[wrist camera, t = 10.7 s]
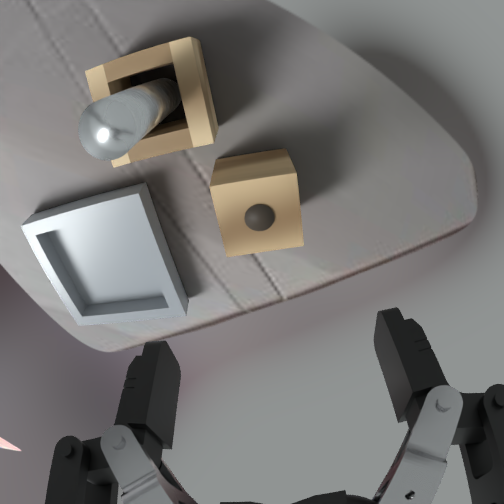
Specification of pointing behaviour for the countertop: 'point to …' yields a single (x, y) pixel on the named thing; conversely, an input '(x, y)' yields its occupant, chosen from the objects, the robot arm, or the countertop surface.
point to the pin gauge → (126, 117)
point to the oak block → (191, 89)
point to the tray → (108, 258)
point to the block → (257, 202)
